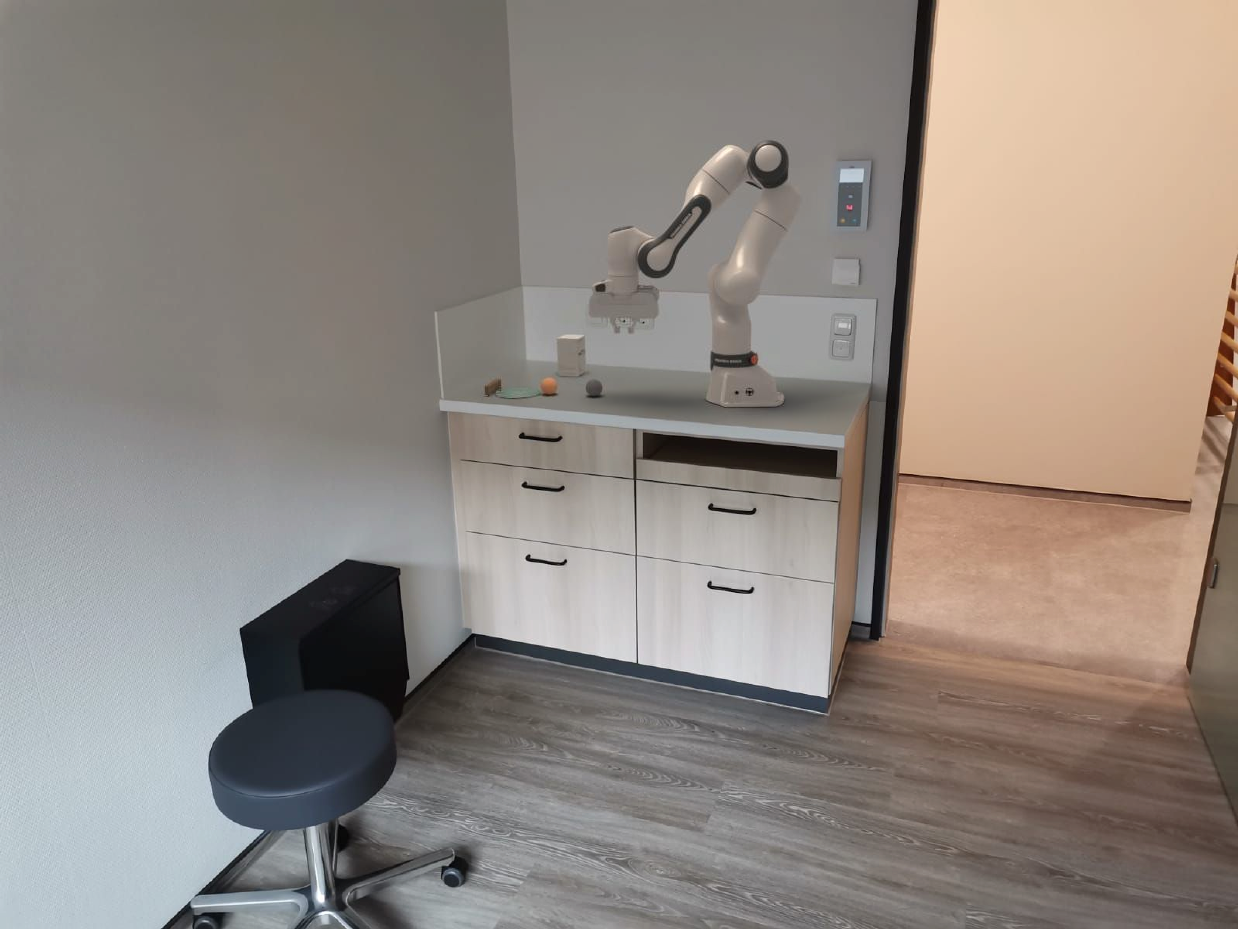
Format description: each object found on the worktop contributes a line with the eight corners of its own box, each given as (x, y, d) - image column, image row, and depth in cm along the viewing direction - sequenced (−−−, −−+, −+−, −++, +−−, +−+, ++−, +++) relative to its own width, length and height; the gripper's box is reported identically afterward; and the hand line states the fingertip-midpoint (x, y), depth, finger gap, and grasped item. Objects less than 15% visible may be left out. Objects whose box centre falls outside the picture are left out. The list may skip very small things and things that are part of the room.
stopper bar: (501, 388, 285) (500, 378, 284) (489, 396, 276) (489, 386, 275) (496, 388, 286) (496, 378, 285) (485, 396, 276) (484, 386, 275)
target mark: (546, 388, 284) (546, 387, 284) (532, 399, 271) (532, 399, 271) (504, 386, 287) (504, 386, 287) (488, 397, 274) (488, 397, 274)
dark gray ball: (604, 394, 275) (604, 377, 274) (600, 398, 271) (599, 381, 269) (588, 393, 277) (587, 377, 275) (584, 397, 272) (583, 381, 270)
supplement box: (578, 377, 297) (577, 338, 293) (557, 376, 300) (555, 337, 296) (586, 372, 304) (585, 334, 300) (566, 371, 306) (564, 333, 302)
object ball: (559, 392, 279) (559, 376, 277) (555, 396, 274) (554, 380, 272) (544, 391, 280) (543, 375, 278) (539, 396, 275) (538, 379, 273)
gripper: (661, 283, 262) (661, 331, 266) (591, 283, 266) (593, 330, 271) (656, 286, 256) (657, 335, 260) (586, 286, 260) (587, 334, 265)
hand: (624, 333), depth 265 cm, fingers open, 3 cm apart
